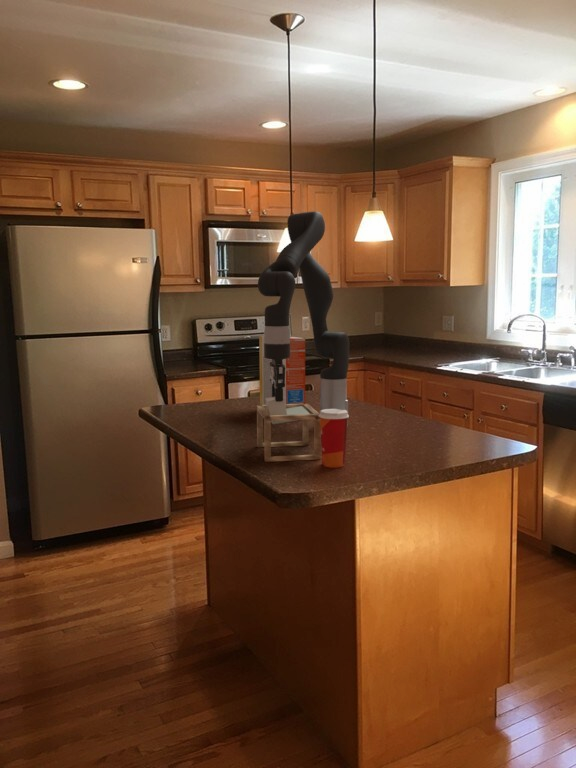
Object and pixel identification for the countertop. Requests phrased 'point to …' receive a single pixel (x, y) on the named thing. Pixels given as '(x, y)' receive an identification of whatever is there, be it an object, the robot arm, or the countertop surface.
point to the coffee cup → (333, 437)
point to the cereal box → (293, 373)
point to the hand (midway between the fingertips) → (277, 399)
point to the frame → (268, 444)
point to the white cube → (275, 406)
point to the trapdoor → (292, 413)
